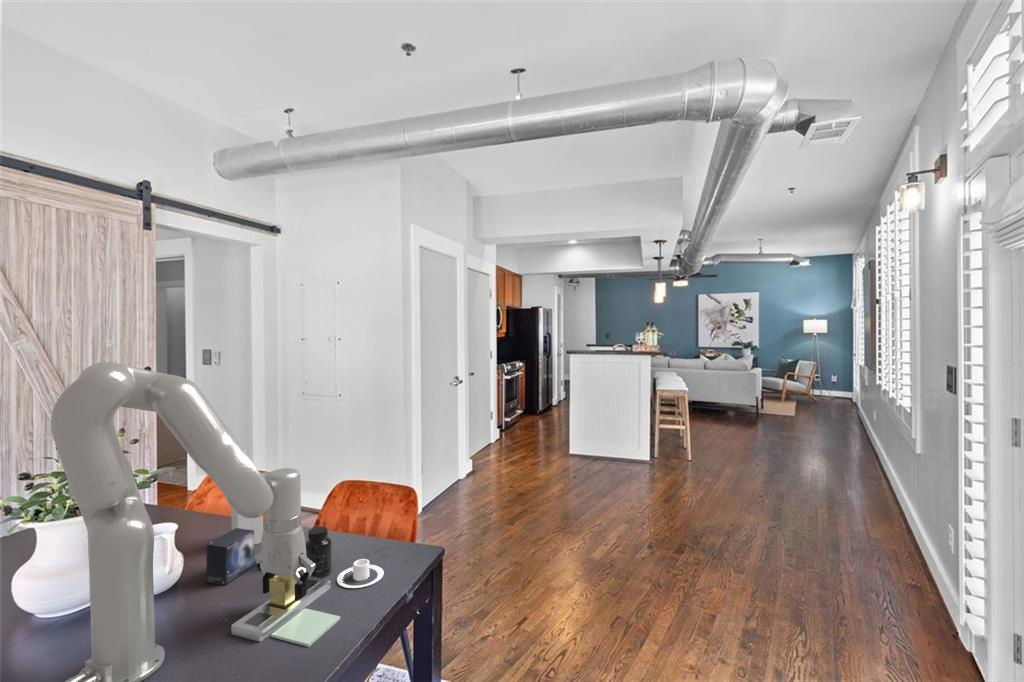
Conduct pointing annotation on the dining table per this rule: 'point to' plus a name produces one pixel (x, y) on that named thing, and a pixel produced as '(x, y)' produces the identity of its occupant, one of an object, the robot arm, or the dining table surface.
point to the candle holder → (360, 573)
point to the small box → (230, 556)
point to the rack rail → (276, 613)
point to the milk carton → (248, 524)
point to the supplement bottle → (319, 551)
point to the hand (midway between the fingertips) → (284, 594)
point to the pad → (306, 627)
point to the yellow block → (282, 591)
